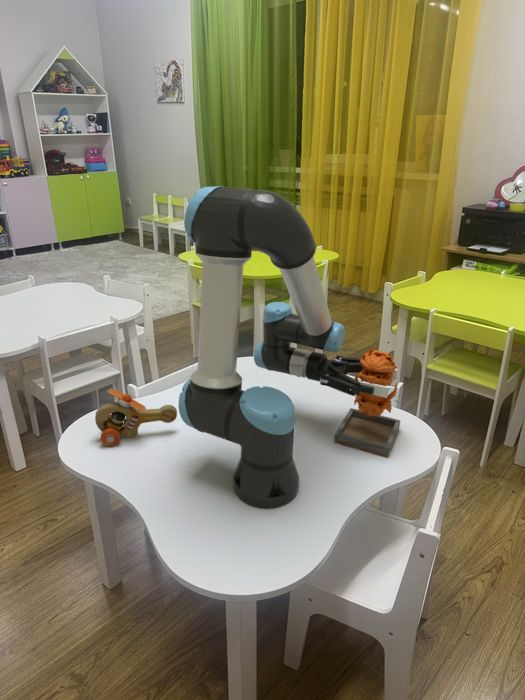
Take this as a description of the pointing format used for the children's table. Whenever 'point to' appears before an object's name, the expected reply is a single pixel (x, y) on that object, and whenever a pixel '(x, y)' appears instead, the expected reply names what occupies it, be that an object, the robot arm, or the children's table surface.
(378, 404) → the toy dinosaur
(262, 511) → the children's table surface
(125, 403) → the toy helicopter
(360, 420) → the tray
